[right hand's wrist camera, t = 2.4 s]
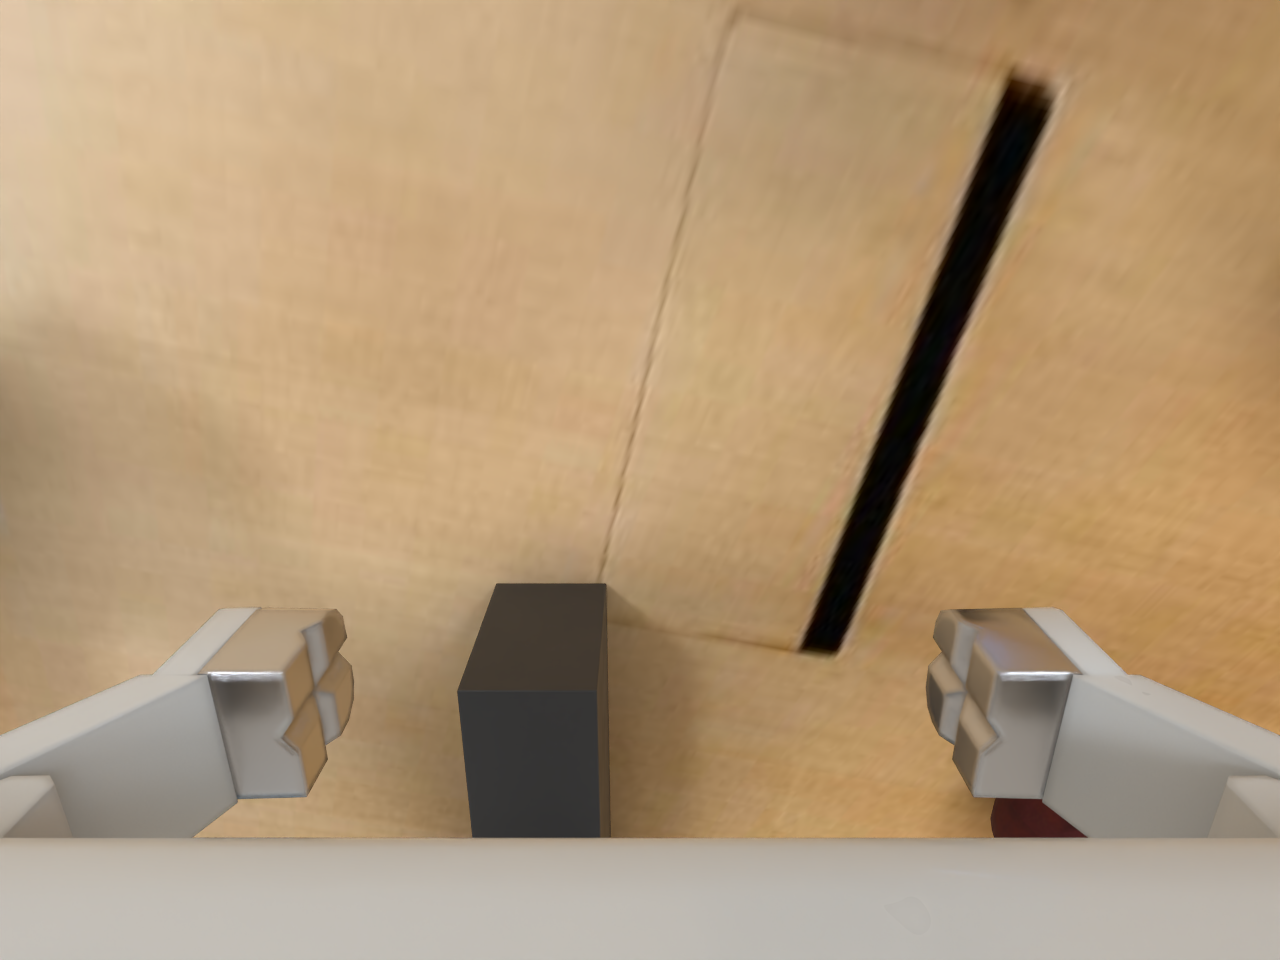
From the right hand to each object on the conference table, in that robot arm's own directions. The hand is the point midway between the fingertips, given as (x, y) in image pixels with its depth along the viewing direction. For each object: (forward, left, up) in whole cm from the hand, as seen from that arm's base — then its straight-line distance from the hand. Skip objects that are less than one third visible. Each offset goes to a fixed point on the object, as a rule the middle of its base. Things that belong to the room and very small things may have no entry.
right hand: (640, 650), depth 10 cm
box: (+12, +26, -30) cm, 42 cm away
